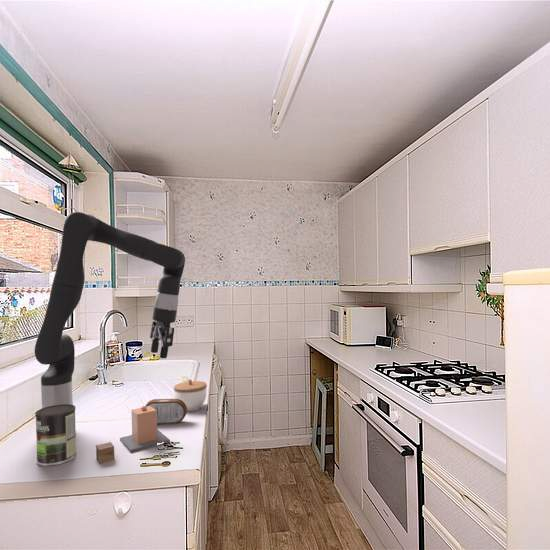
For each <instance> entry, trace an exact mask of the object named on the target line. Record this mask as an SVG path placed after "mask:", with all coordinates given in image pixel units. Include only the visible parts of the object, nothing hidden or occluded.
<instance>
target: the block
mask: <svg viewBox="0 0 550 550" xmlns="http://www.w3.org/2000/svg"><path fill="white" fill-rule="evenodd" d="M95 448H96V449H95V453H96V456H95V457H96V461H97V463H98V464H99V465H101V464H104V463H108V462H112V460H113V461H115V445H114V444H113V442H112V441H108V442H104V443H101V444H96V445H95Z"/></svg>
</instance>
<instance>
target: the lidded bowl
mask: <svg viewBox="0 0 550 550" xmlns="http://www.w3.org/2000/svg"><path fill="white" fill-rule="evenodd" d="M207 387H208V386H207V383H206V382H205V381H200V380H192V379H189V380H188V381H183V382H180V383H177V384H175V385H174V386H173V390H174V393H173V394H174V399H180V400H182V401H183V402H184V403H185V404H186V407H187V412H195V411H197V410H199V409H200V408H202V406H203V404H204V403H205V401H206V398H207Z"/></svg>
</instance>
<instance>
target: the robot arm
mask: <svg viewBox="0 0 550 550" xmlns="http://www.w3.org/2000/svg"><path fill="white" fill-rule="evenodd" d="M62 227H63V228H62V235H61V236H62V238H61V246H60V252H59V256H58V260H57V265H56V268H55V269H56V270H55V273H54V277H53V279H52V284H51V289H50V294H49V298H48V299H49V300H48V303H47V307H46V311H45V315H44V318H43V322H42V325H41V328H40V330H39V333H38V335H37V337H36V338H37V339H36V341H35V345H34V356H35V359H36V361H37V362H38V363H40V364H41V365H46V366H47V365H48V367H47V369H46V370H45V372H44V373H43V374H42V375H41V377H40V385H41V386H40V388H41V389H40V392H41V409H42V408H45V407H49V406H53V405H61V404H70V405H74V401H73V374H74V371H75V353H76V352H75V343H74V341H73V338H72V337H71V336H70V335H69V334H66V333H63V332H64V328H65V326H66V324H67V321H68V320H69V318H70V317H71V315H72V314H73V312H74V311H75V309H76V308H77V306H78V305H79V303H80V300H81V298H82V294H83V289H84V284H85V270H84V269H85V268H84V254H85V250H86V248H87V244H88V241H90V242H96V243H102V244H105V245H108V246H111V247H114V248H116V249H118V250H119V251H121V252H124V253H126V254H128V255H131V256H134V257H136V258H138V259H141V260H145V261H148V262H152V263H154V264H156V265H159V266H161V267H163V270H162V275H161V277H160V278H159V281H158V285H157V293H156V297H155V300H154V305H153V312H152V313H153V314H152V320H153V321H152V324H151V330H150V335H149V339H151V345H150V353H152V354H153V353H154V354H155V353H158V352H160V353H159V358H160V359H167V357H168V353H169V348H170V347H172V346H173V342H174V334H175V327H171V324H172V323H175V322H176V319H177V312H178V307H179V293H180V289H181V280H182V276H183V272H184V269H185V263H186V257H185V254H184V253H183V252H182V251H181V250H179V249H178V248H175V247H173V246H168V245H166V244H162V243H158V242H156V241H154V240H152V239H149V238H146V237H144V236H141V235H138V234H135V233H131V232H128V231H125V230H122V229H119V228H117V227H114V226H112V225H110V224H108V223H106V222H104V221H102V220H100V219H99V218H97V217H96V216H94V215H92V214H90V213H86V212H82V211H75V212H72V213H70V214H69V215H67V216H66V218H65V220H64V224H63V226H62ZM160 344H161V347H160ZM159 347H160V351H159Z"/></svg>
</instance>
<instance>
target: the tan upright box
mask: <svg viewBox="0 0 550 550" xmlns="http://www.w3.org/2000/svg"><path fill="white" fill-rule="evenodd" d="M157 429H158V424H157V411H156V410H155V409H154V408H153V407H151V406H147V407H146V405H143V406H141V407H138V408H133V409H131V433H132V434H131V435H132V438H133V439H134V441H135V442H136V443H137V444H141V443H144V442H148V441H152V440H156V439H157Z"/></svg>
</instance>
